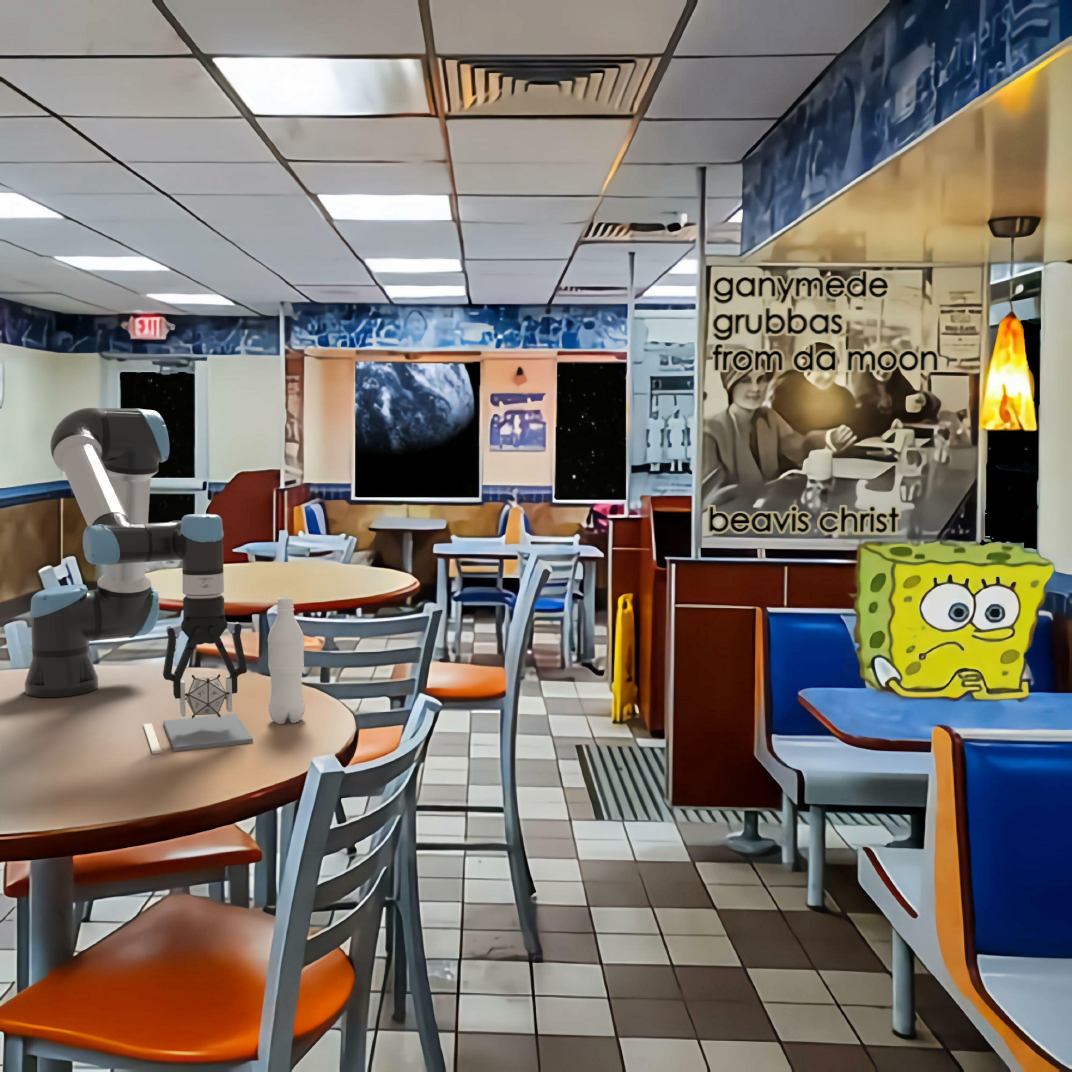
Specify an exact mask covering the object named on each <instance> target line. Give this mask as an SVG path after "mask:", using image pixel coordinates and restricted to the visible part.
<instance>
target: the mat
mask: <svg viewBox="0 0 1072 1072" xmlns="http://www.w3.org/2000/svg"><path fill="white" fill-rule="evenodd" d="M220 715H221V718H220V717H218V715H217V714H215V715H205V716H198V717H196V716H195V717H194V718H193V719H192V717H187V718H179V719H178V718H177V719H168V720H167V719H166V720H163V727H164V730H165V731H166V734H167V737H168V740H169V742H170V744H171V747H172V749H173V752H181V751H190V750H199V749H200V750H201V749H208V748H209V749H210V748H217V747H226V746H234V745H235V746H236V745H243V744H244V745H245V744H253V743H254V739H253V738H254V737H252V735H251V733H250V732H249V731H248V729H247V728H246V726H245V725H244V723H243V722H242V721H241V719H240V717H239V716H238V714H237V713H228V714H220Z"/></svg>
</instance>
